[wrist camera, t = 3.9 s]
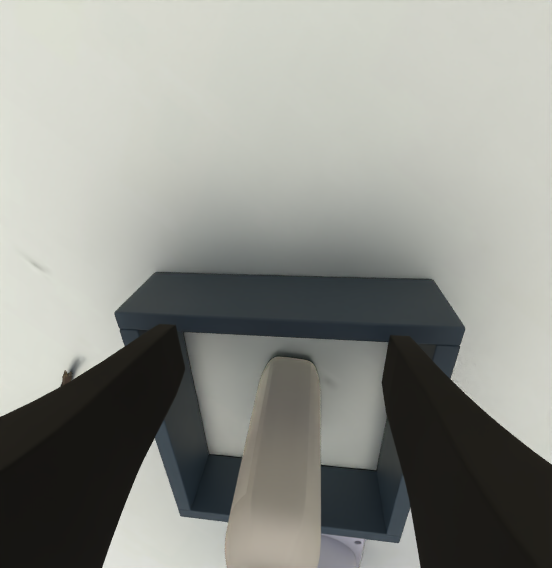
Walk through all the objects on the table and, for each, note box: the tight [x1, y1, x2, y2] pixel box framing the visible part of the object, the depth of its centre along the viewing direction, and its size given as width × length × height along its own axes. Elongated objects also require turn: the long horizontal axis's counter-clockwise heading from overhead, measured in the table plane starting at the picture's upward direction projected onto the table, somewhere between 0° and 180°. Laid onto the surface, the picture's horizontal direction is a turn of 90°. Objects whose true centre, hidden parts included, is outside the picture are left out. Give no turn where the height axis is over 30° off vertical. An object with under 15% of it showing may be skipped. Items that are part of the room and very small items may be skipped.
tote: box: [115, 272, 465, 543], centre depth 16 cm, size 15×13×4 cm
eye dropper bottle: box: [225, 356, 321, 568], centre depth 13 cm, size 4×6×12 cm
